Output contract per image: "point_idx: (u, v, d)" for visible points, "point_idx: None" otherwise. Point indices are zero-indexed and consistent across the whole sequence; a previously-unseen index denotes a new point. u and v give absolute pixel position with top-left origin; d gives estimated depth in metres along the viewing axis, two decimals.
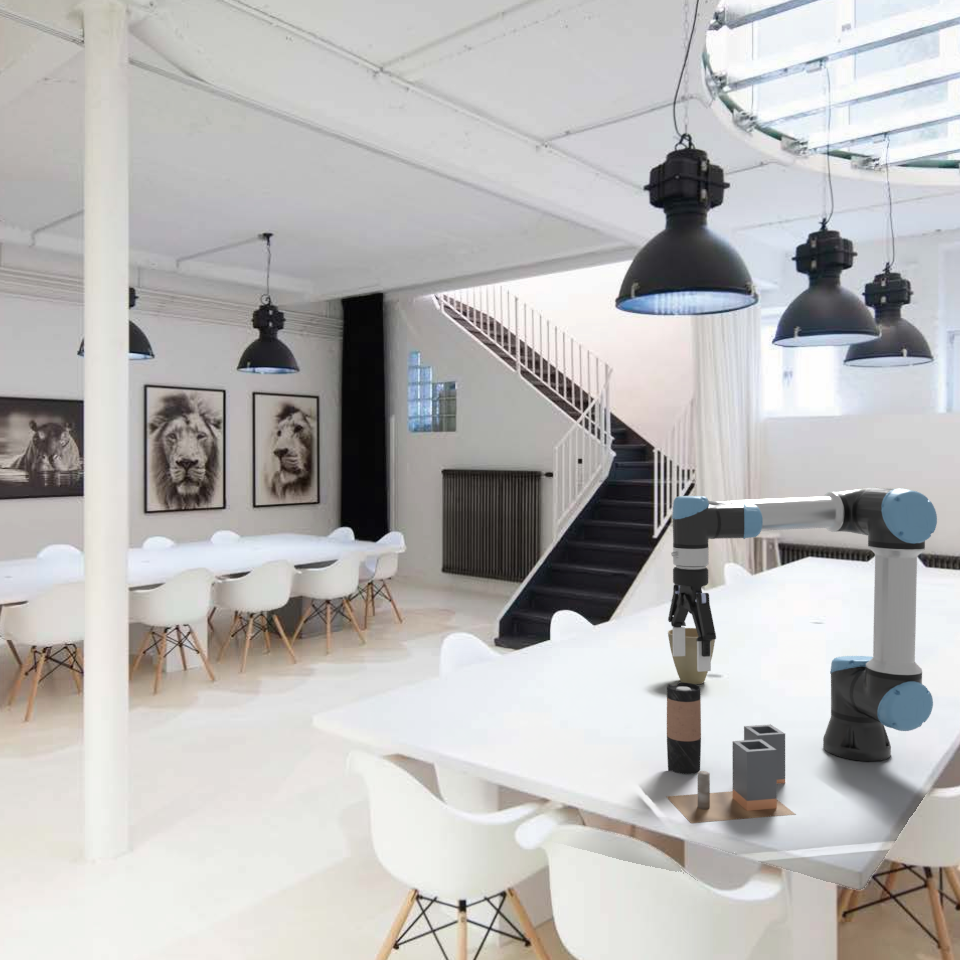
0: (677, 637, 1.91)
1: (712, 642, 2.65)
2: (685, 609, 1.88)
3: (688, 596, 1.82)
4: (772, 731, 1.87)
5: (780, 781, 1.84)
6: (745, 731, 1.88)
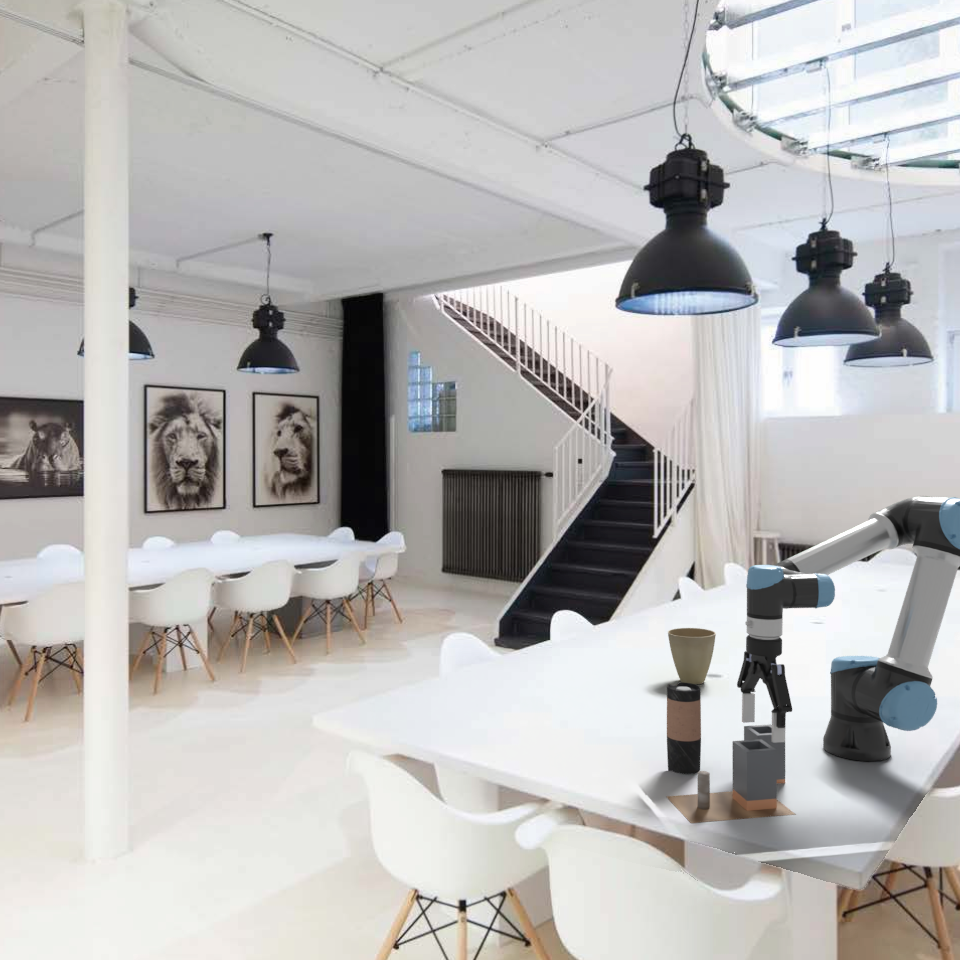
0: (747, 703, 1.92)
1: (712, 642, 2.65)
2: (756, 677, 1.89)
3: (762, 666, 1.84)
4: None
5: (780, 781, 1.84)
6: (745, 731, 1.88)
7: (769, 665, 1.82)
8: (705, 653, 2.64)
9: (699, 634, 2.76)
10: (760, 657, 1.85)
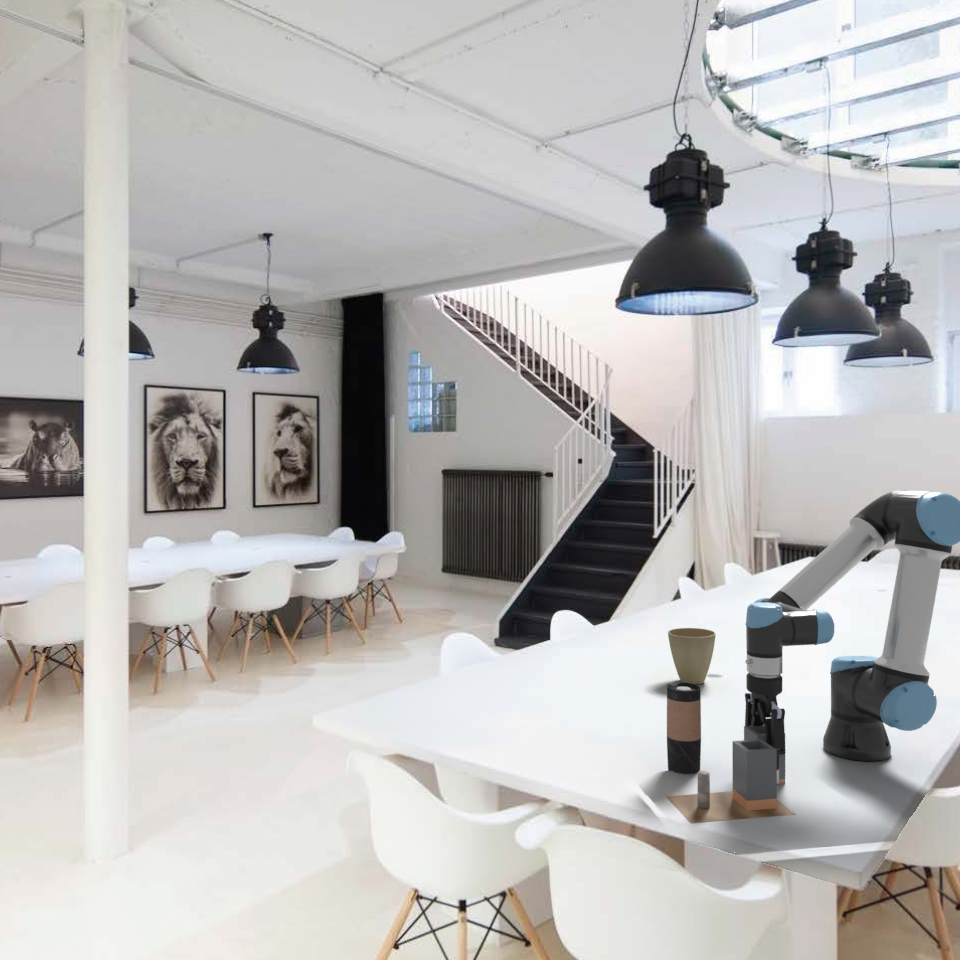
0: None
1: (712, 642, 2.65)
2: (760, 718, 1.88)
3: (763, 705, 1.84)
4: None
5: (780, 781, 1.84)
6: (745, 731, 1.88)
7: (770, 705, 1.82)
8: (705, 653, 2.64)
9: (699, 634, 2.76)
10: (760, 695, 1.85)
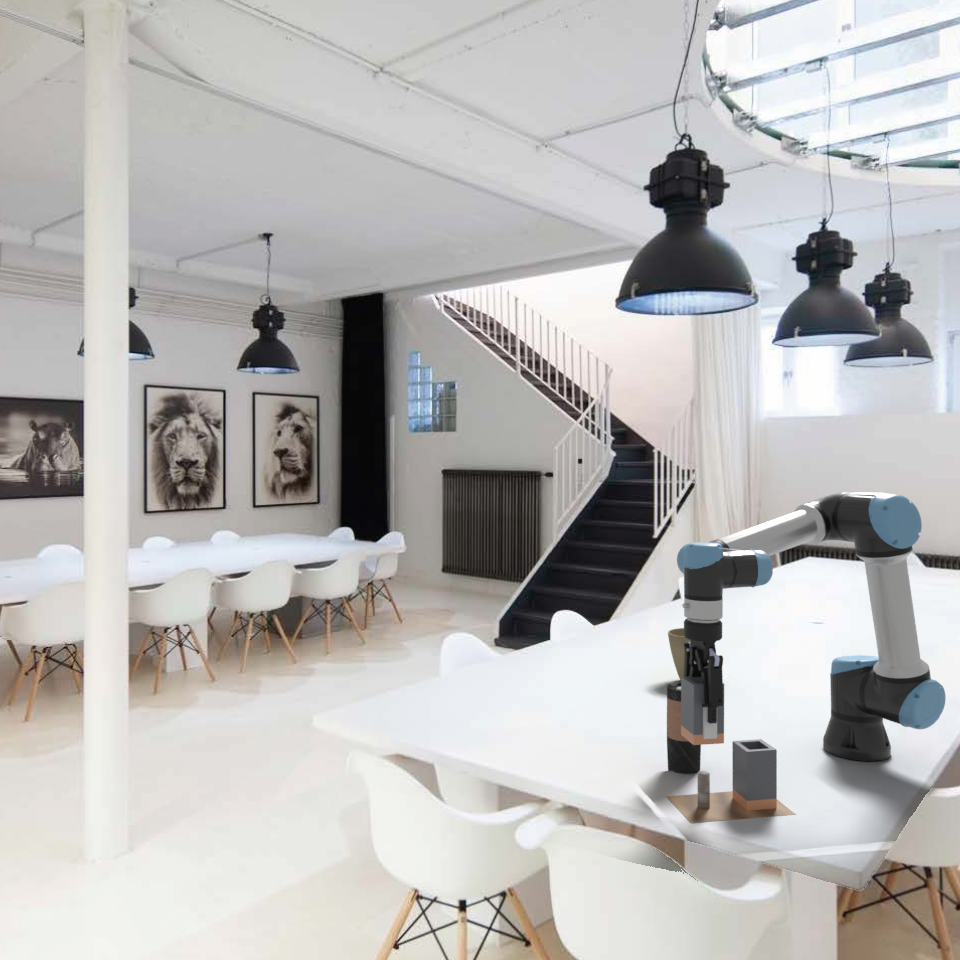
0: None
1: None
2: None
3: (700, 653, 1.69)
4: None
5: (718, 735, 1.68)
6: (682, 682, 1.73)
7: (707, 653, 1.67)
8: None
9: None
10: (698, 642, 1.70)
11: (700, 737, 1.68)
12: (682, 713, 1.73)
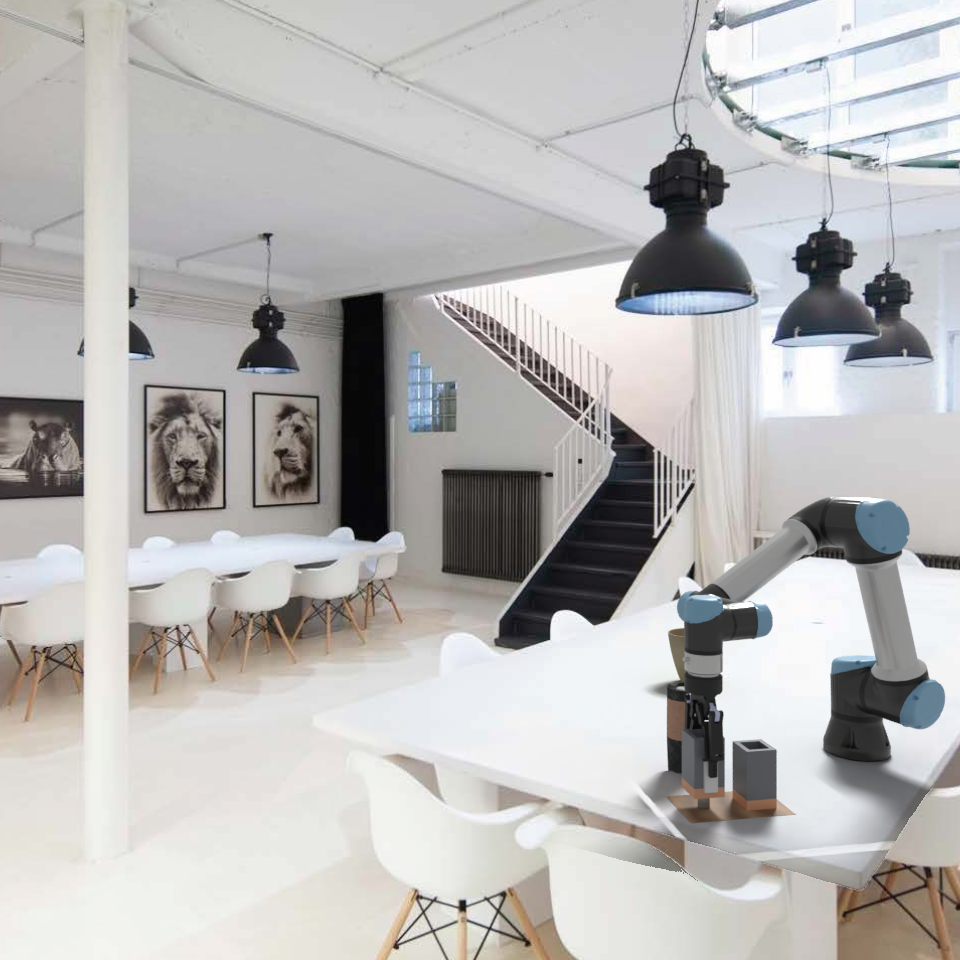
0: None
1: None
2: None
3: (701, 707, 1.69)
4: None
5: (719, 789, 1.69)
6: (682, 734, 1.73)
7: (708, 707, 1.67)
8: None
9: None
10: (699, 696, 1.70)
11: (701, 791, 1.68)
12: (683, 765, 1.73)
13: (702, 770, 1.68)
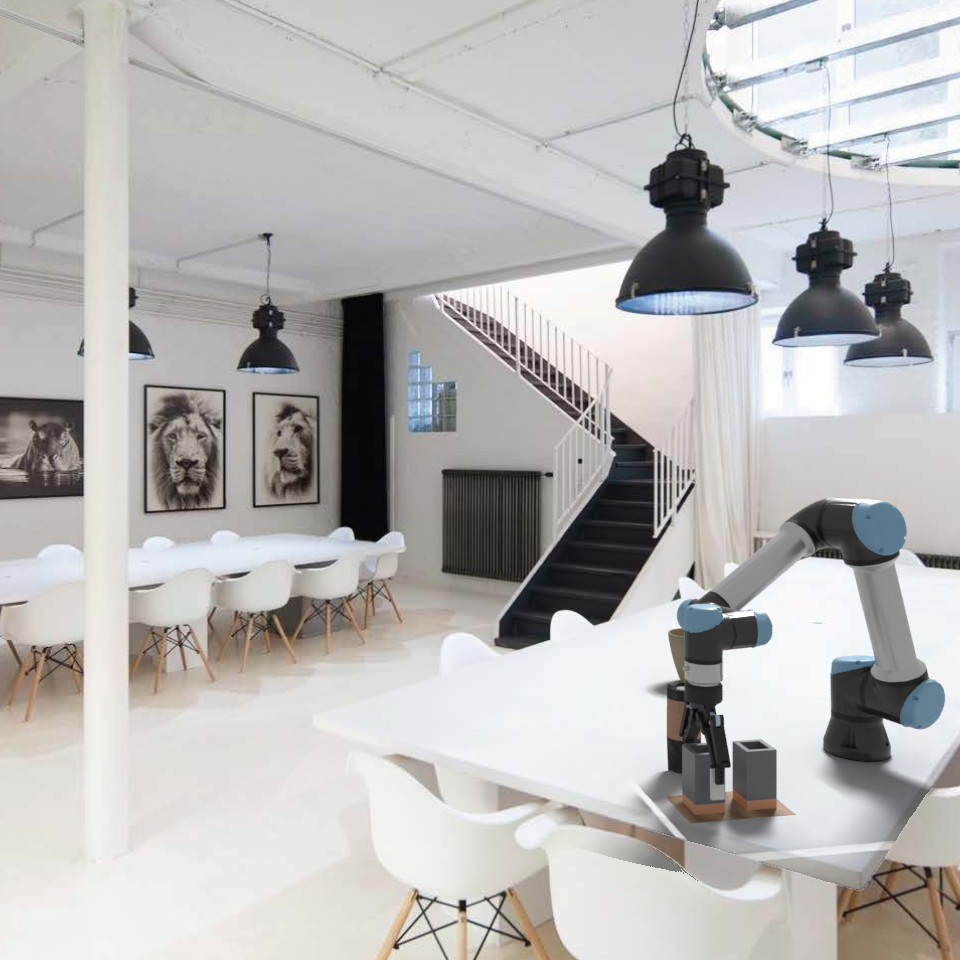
0: None
1: None
2: (697, 725, 1.75)
3: (701, 715, 1.69)
4: None
5: (719, 805, 1.69)
6: (683, 749, 1.74)
7: (708, 715, 1.67)
8: None
9: None
10: (699, 705, 1.70)
11: (702, 807, 1.68)
12: (683, 781, 1.74)
13: (702, 786, 1.68)
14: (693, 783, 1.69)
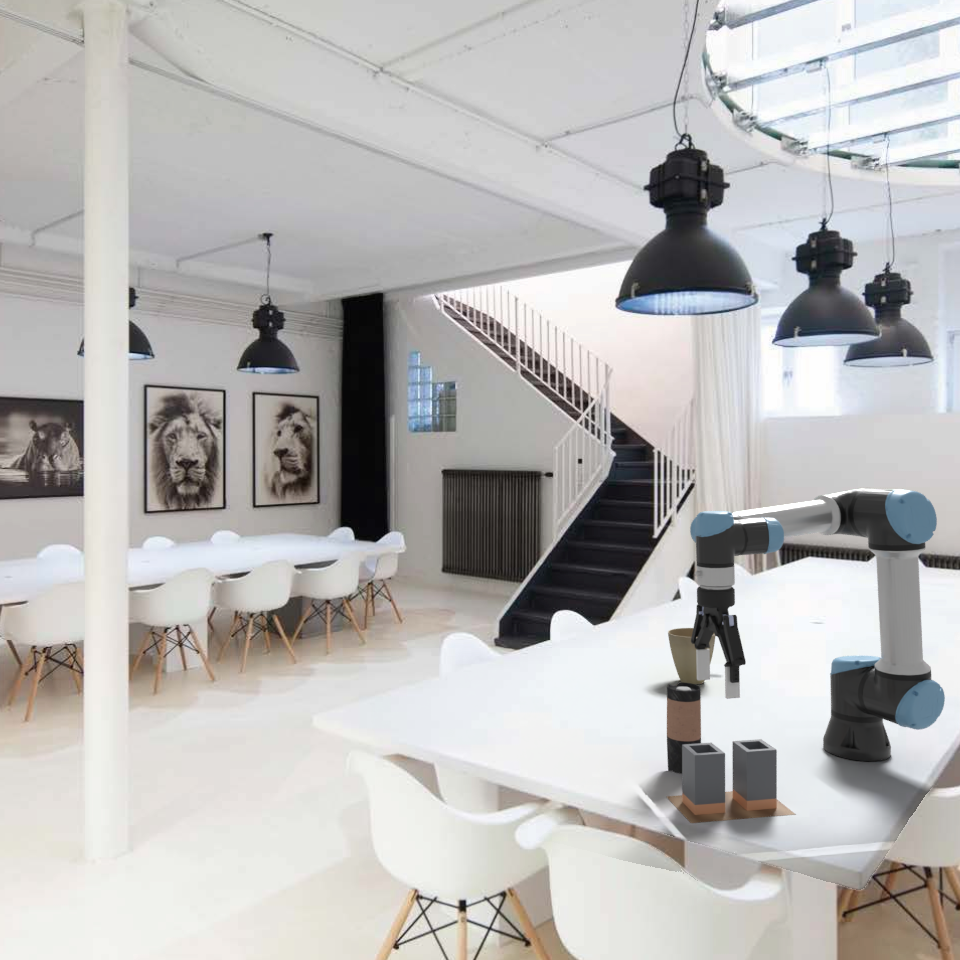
0: (701, 660, 1.80)
1: (712, 642, 2.65)
2: (710, 631, 1.78)
3: (714, 618, 1.72)
4: (712, 750, 1.72)
5: (719, 805, 1.69)
6: (683, 749, 1.74)
7: (721, 616, 1.70)
8: None
9: None
10: (712, 609, 1.73)
11: (702, 807, 1.68)
12: (683, 781, 1.74)
13: (702, 786, 1.68)
14: (693, 783, 1.69)
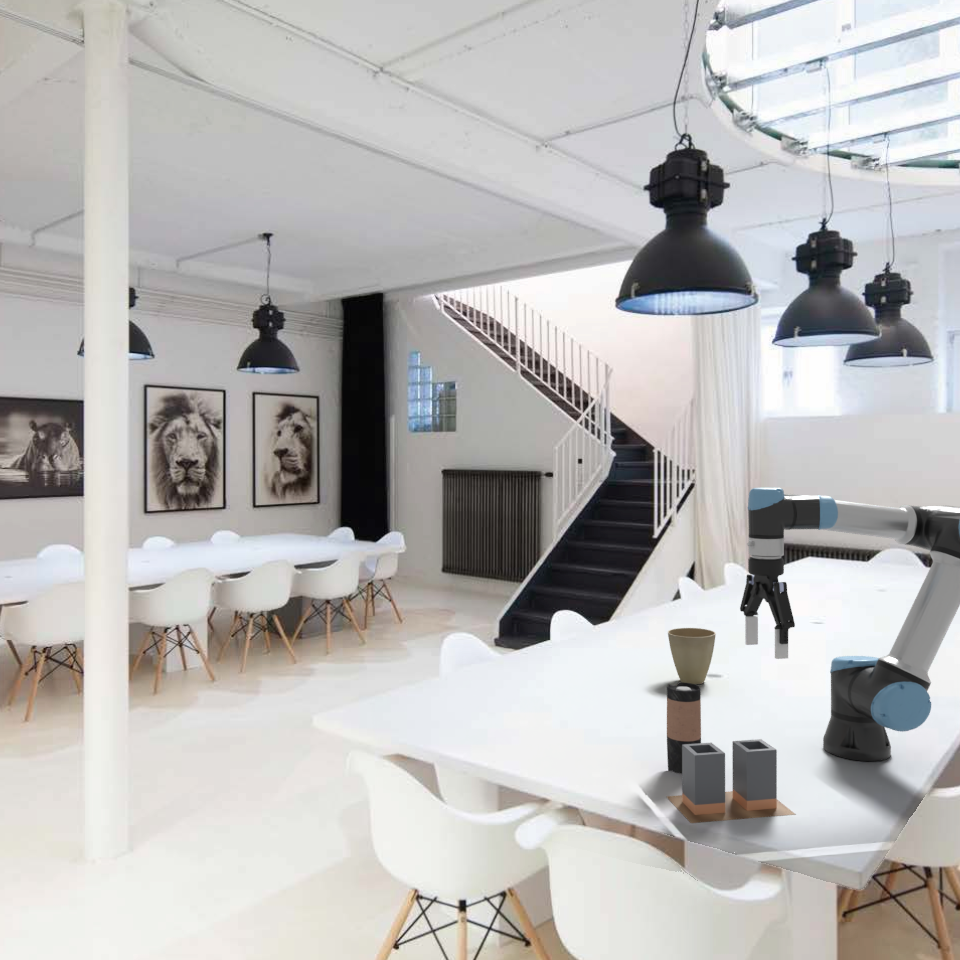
0: (750, 626, 1.95)
1: (712, 642, 2.65)
2: (759, 598, 1.92)
3: (764, 585, 1.87)
4: (712, 750, 1.72)
5: (719, 805, 1.69)
6: (683, 749, 1.74)
7: (771, 584, 1.84)
8: (705, 653, 2.64)
9: (699, 634, 2.76)
10: (762, 577, 1.88)
11: (702, 807, 1.68)
12: (683, 781, 1.74)
13: (702, 786, 1.68)
14: (693, 783, 1.69)
